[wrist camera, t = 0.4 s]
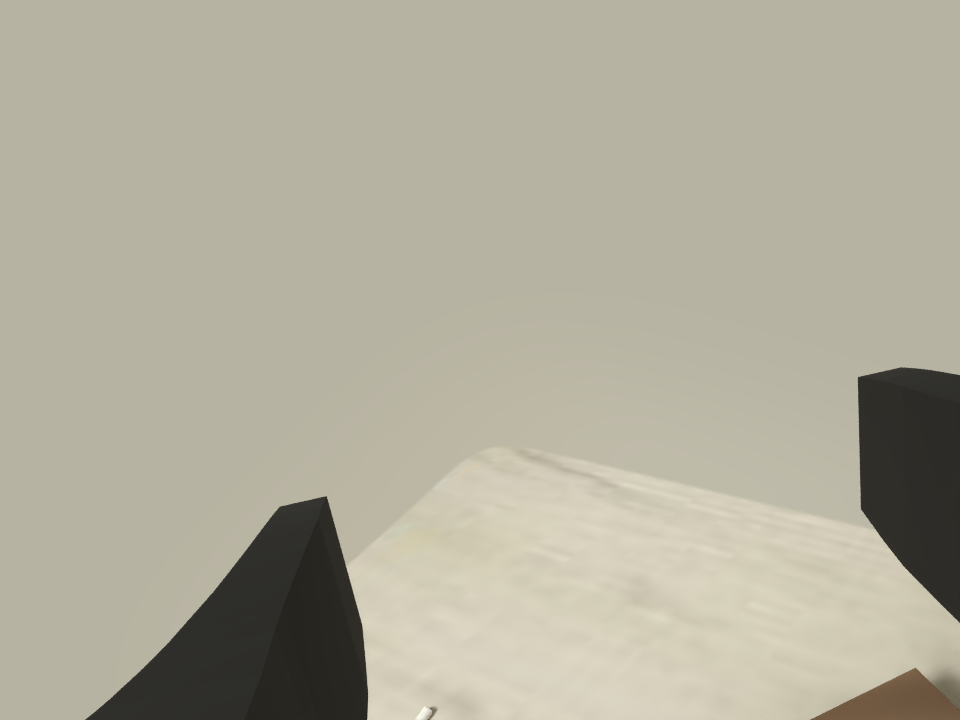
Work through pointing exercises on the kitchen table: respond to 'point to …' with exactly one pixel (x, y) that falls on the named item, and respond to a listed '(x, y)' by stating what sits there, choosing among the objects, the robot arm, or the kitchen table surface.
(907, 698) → the walnut base
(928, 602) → the kitchen table surface
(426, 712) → the pen
